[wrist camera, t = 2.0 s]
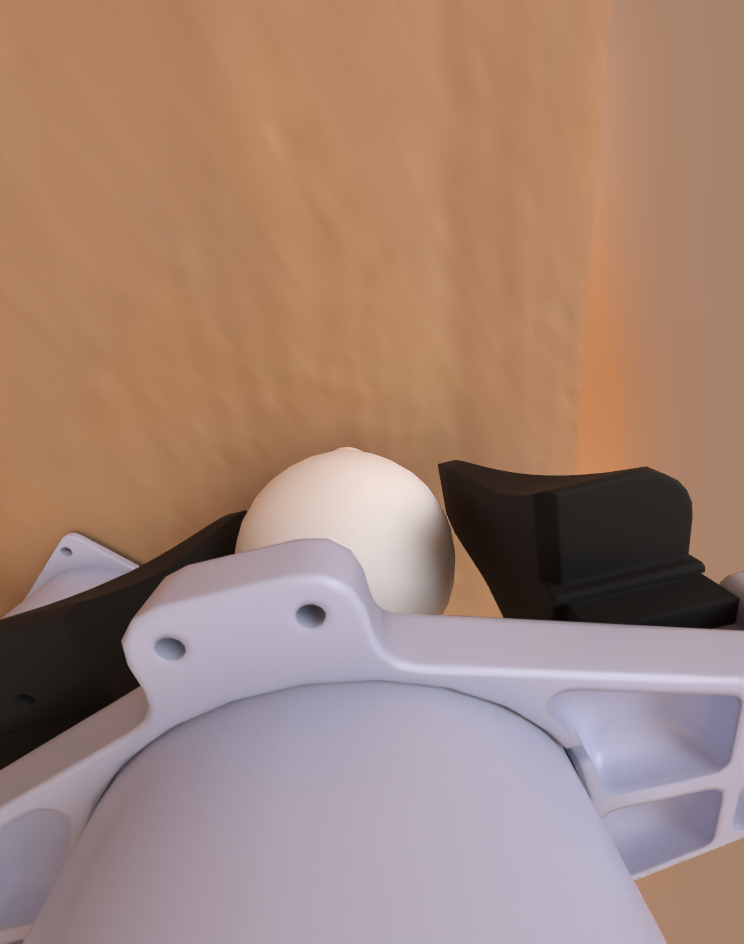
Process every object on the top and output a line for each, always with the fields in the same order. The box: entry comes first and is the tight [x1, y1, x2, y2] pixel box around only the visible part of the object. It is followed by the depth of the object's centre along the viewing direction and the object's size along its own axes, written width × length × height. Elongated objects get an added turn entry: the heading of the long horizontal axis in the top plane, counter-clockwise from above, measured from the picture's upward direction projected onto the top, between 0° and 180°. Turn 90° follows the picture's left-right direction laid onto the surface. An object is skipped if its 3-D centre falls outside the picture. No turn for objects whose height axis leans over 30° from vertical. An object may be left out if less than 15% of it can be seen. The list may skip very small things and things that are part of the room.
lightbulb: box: [235, 447, 455, 615], centre depth 12 cm, size 6×6×11 cm
